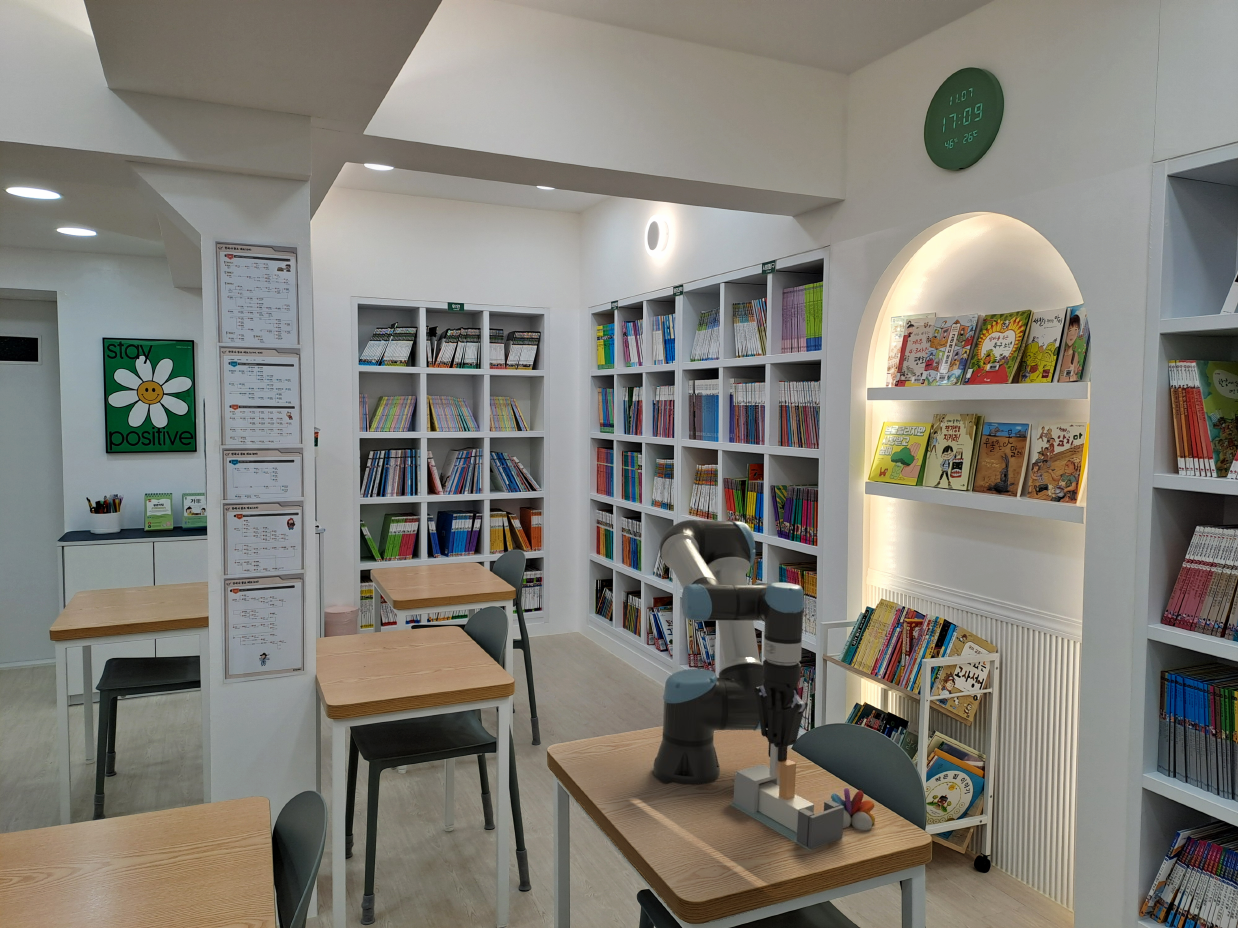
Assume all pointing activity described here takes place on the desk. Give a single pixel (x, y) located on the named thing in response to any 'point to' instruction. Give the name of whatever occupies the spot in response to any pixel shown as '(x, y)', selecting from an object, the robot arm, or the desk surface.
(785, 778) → the block with wooden peg
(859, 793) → the rainbow disc toy
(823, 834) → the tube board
